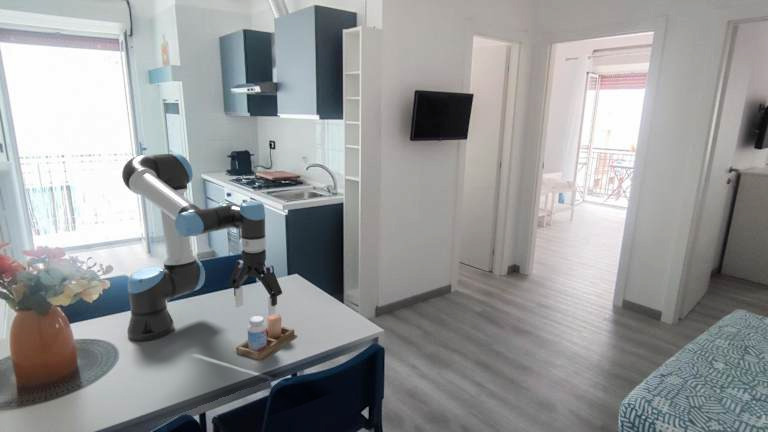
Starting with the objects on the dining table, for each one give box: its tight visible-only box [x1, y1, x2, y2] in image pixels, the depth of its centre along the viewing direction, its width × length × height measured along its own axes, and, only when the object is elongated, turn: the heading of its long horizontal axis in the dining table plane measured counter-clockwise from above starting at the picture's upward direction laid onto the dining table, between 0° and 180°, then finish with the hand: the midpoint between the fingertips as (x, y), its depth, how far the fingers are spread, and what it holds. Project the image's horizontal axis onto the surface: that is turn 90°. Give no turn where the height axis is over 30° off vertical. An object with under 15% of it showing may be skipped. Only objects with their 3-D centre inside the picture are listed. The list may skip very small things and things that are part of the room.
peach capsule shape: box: [266, 313, 283, 340], centre depth 155 cm, size 5×5×8 cm
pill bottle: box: [247, 315, 267, 352], centre depth 147 cm, size 6×6×11 cm
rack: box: [234, 325, 297, 361], centre depth 152 cm, size 12×19×3 cm, turn 156°
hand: (255, 310), depth 145 cm, fingers open, 13 cm apart
